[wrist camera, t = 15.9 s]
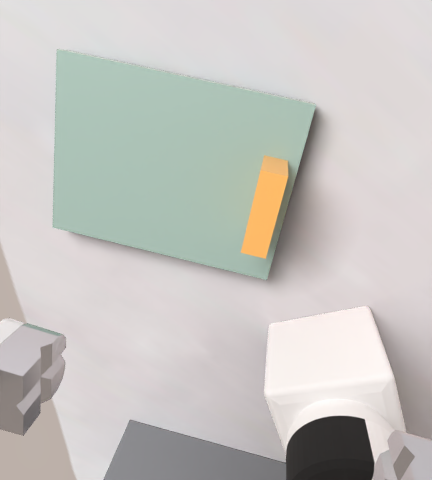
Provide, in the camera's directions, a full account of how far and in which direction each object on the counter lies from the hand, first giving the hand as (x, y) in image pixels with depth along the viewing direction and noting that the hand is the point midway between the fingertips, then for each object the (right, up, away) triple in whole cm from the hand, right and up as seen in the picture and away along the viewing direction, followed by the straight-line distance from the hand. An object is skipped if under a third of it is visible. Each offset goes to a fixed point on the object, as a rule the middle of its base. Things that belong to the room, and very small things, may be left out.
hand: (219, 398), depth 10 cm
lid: (-3, +9, +18) cm, 20 cm away
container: (+9, -5, +22) cm, 25 cm away
